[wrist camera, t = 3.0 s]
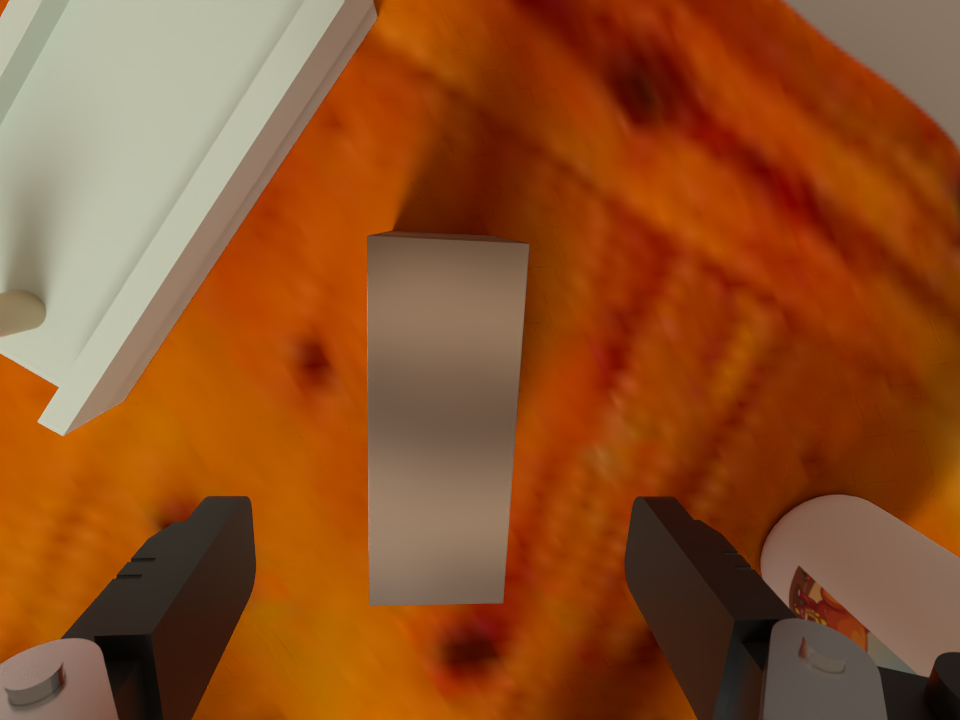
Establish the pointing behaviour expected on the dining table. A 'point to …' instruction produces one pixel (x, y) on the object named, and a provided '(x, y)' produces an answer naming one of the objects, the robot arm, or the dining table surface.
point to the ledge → (140, 166)
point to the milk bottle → (867, 580)
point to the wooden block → (442, 413)
